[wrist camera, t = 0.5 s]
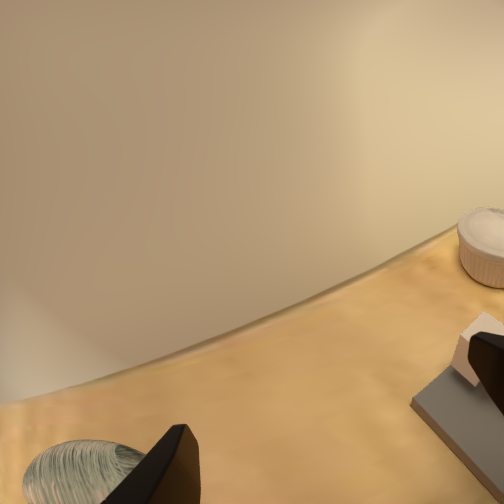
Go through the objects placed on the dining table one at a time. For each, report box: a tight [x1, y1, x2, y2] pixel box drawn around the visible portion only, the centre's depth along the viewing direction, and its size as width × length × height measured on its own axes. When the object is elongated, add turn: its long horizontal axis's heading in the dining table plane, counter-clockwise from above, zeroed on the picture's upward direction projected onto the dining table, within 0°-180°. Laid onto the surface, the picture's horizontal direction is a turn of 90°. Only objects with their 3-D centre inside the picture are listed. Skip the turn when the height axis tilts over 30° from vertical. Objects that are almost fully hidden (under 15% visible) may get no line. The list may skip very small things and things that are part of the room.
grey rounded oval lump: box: [22, 440, 146, 504], centre depth 15 cm, size 14×10×10 cm
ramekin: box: [457, 207, 504, 288], centre depth 27 cm, size 11×11×5 cm
